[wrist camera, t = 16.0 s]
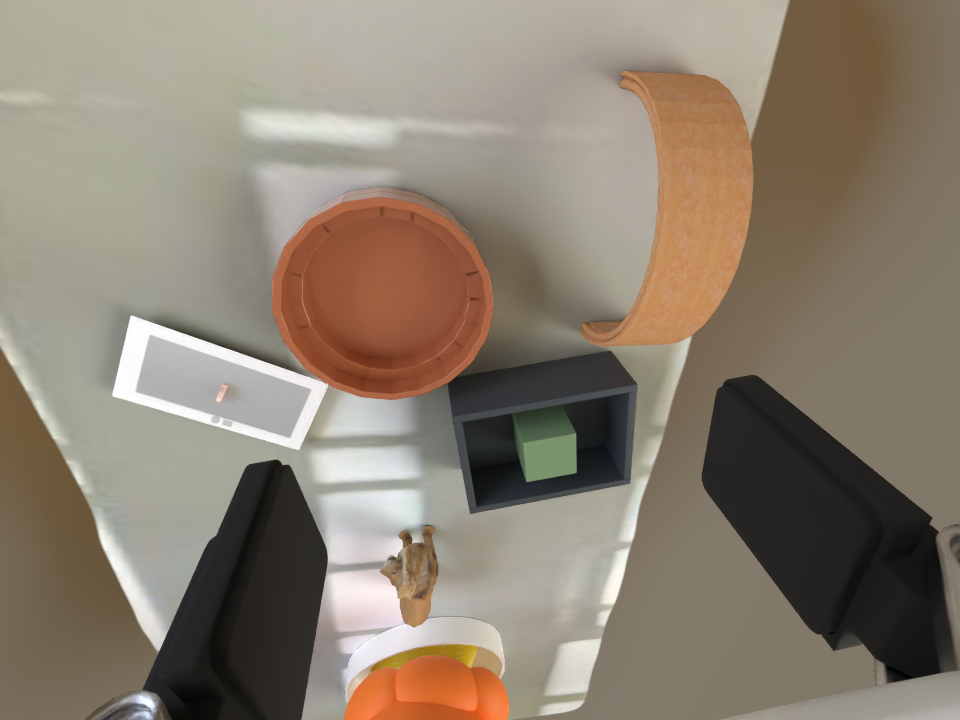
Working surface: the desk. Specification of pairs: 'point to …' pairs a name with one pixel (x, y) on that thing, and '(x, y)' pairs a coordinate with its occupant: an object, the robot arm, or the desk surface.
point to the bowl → (382, 294)
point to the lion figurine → (414, 576)
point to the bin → (571, 382)
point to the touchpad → (215, 385)
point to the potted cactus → (429, 673)
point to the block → (545, 442)
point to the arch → (688, 208)
